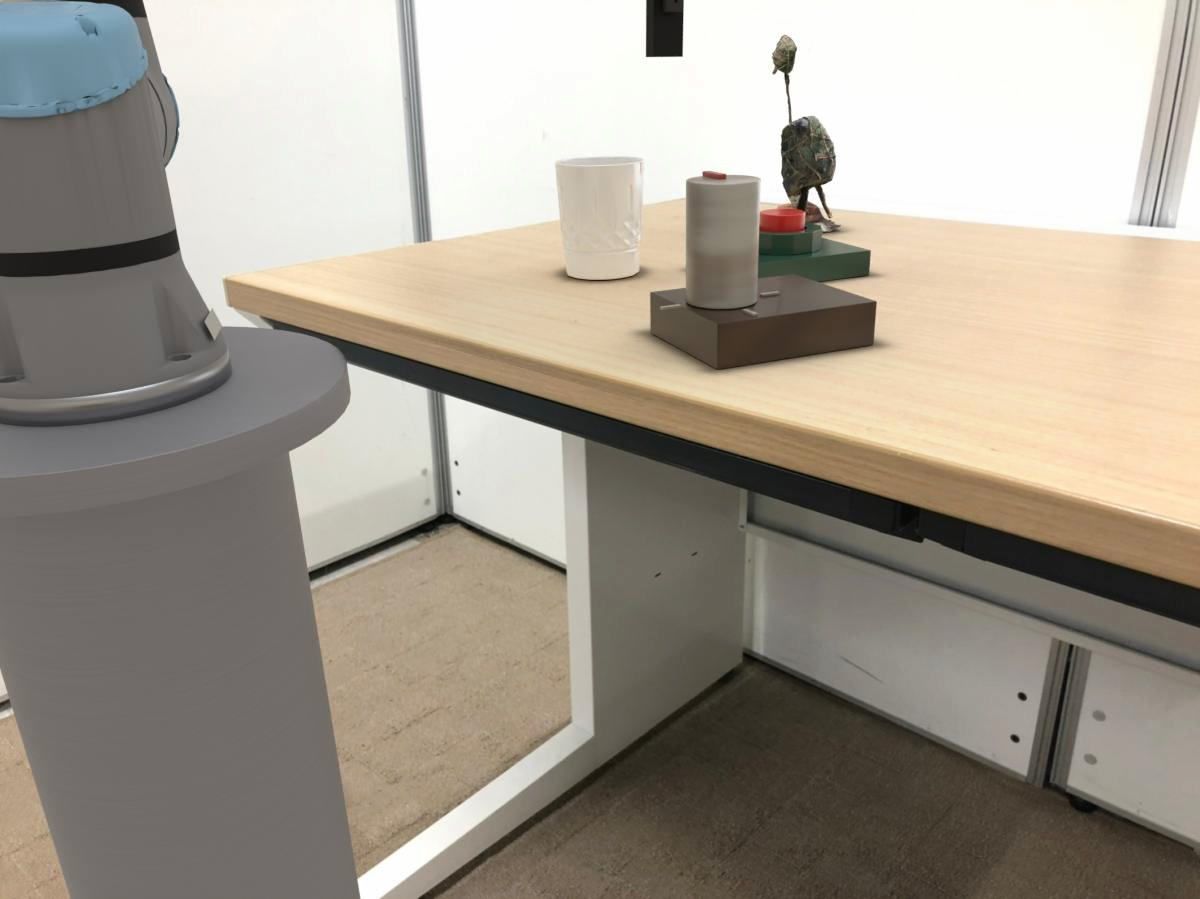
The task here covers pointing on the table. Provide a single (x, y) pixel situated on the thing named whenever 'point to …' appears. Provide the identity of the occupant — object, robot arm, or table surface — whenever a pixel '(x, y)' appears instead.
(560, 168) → the white cup
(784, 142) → the stone bird figurine
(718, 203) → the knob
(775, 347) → the panel
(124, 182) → the robot arm
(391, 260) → the table surface
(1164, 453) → the table surface
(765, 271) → the switchbox
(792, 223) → the button
